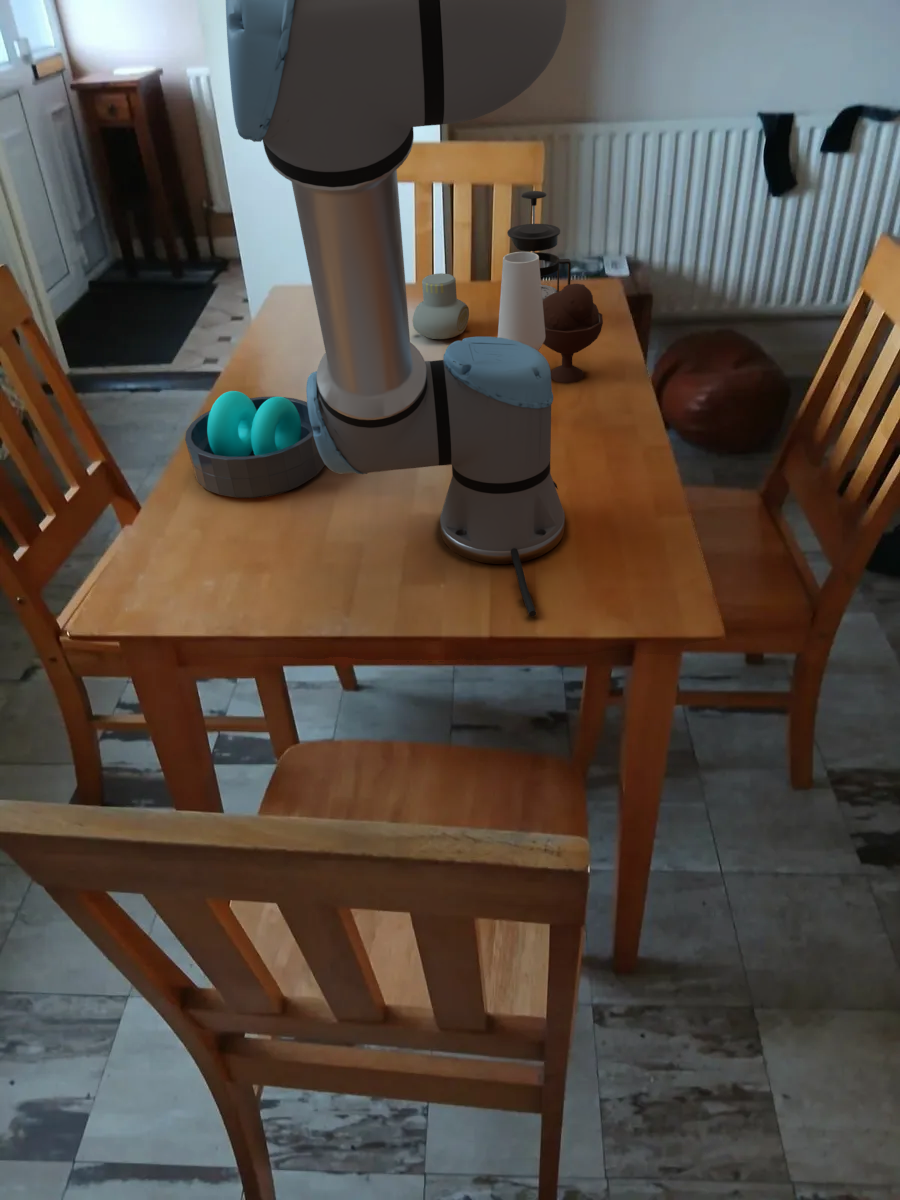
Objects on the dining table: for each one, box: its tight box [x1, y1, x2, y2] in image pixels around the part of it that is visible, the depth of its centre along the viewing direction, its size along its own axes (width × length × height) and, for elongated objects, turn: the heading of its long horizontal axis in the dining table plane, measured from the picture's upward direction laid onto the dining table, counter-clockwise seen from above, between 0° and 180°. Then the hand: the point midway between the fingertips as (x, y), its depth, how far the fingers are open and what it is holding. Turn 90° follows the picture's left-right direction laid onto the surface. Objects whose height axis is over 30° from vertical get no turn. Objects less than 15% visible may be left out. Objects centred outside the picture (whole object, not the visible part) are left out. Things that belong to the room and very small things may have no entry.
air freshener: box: [412, 272, 470, 340], centre depth 159 cm, size 11×8×10 cm
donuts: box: [207, 390, 301, 457], centre depth 123 cm, size 10×10×10 cm
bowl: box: [184, 395, 326, 499], centre depth 125 cm, size 19×19×6 cm
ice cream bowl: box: [542, 283, 604, 384], centre depth 141 cm, size 11×11×15 cm
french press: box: [506, 190, 572, 301], centre depth 155 cm, size 12×9×23 cm
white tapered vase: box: [497, 251, 545, 351], centre depth 126 cm, size 7×7×24 cm
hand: (368, 243), depth 118 cm, fingers open, 13 cm apart
